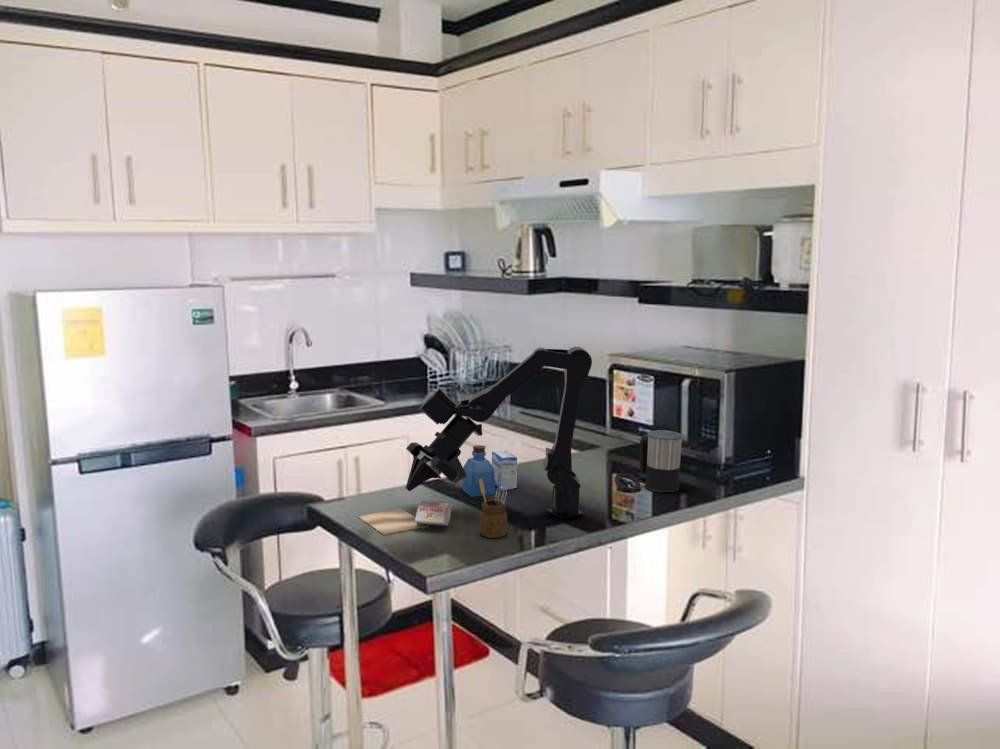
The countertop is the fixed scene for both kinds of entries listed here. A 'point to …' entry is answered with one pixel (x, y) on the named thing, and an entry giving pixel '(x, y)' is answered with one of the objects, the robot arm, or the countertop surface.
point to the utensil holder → (492, 516)
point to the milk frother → (657, 462)
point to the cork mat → (392, 521)
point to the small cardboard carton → (433, 513)
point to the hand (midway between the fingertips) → (407, 489)
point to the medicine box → (504, 469)
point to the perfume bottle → (478, 473)
